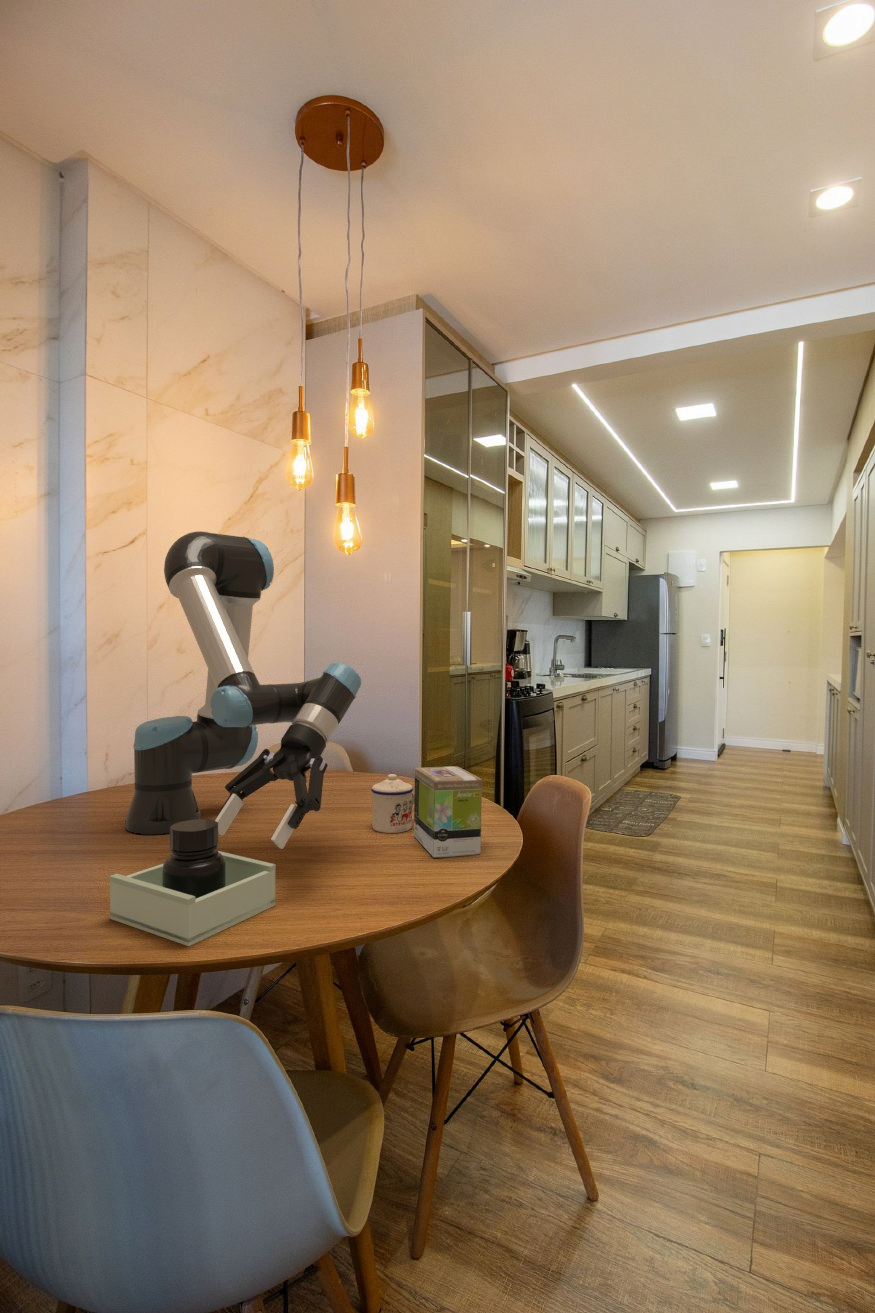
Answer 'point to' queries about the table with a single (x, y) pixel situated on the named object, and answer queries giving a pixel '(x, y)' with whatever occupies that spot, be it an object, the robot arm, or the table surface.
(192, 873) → the ink bottle
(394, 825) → the teacup with lid
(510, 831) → the table surface
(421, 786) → the tea box
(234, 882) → the tray
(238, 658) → the robot arm
